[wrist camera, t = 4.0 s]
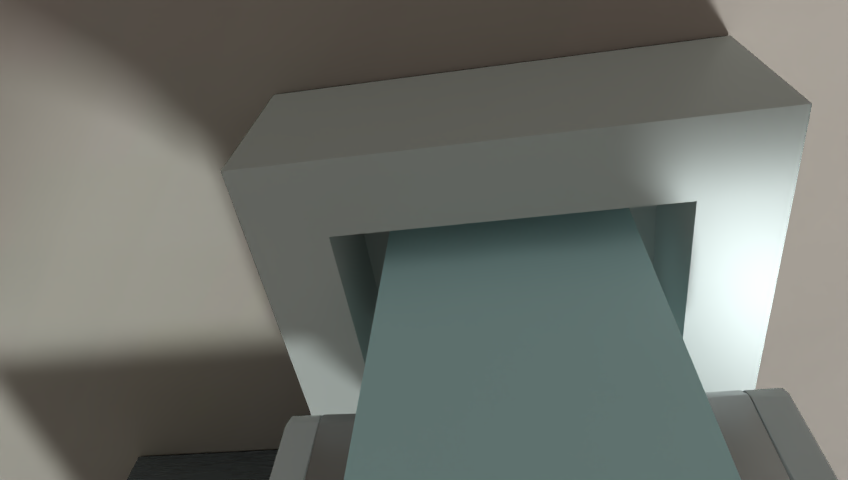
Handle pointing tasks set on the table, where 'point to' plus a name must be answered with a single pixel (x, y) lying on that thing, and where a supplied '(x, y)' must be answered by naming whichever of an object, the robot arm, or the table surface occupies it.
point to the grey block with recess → (206, 466)
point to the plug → (530, 360)
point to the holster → (527, 188)
